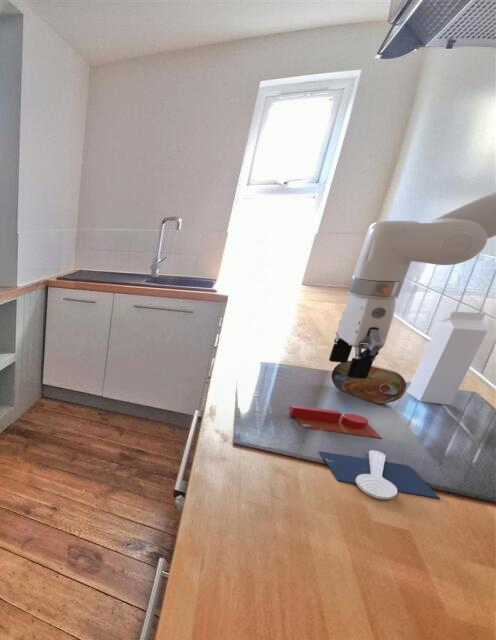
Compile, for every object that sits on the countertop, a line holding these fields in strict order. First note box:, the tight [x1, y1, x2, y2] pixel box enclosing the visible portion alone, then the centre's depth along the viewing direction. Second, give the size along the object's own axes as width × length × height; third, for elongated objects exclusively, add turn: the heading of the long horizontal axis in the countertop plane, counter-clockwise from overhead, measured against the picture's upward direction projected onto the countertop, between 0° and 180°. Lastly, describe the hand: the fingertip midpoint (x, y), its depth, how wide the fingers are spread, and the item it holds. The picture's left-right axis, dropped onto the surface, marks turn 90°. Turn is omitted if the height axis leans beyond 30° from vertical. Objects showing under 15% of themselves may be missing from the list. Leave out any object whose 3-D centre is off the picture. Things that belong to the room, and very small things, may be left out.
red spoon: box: [288, 404, 370, 429], centre depth 93 cm, size 14×4×2 cm, turn 69°
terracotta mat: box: [289, 406, 382, 440], centre depth 93 cm, size 14×10×1 cm
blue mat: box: [318, 450, 441, 500], centre depth 75 cm, size 14×10×1 cm
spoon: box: [355, 449, 398, 500], centre depth 74 cm, size 5×18×1 cm, turn 138°
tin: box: [331, 360, 407, 405], centre depth 103 cm, size 15×3×8 cm, turn 17°
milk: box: [406, 311, 489, 406], centre depth 99 cm, size 6×6×22 cm
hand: (346, 369), depth 88 cm, fingers open, 9 cm apart
